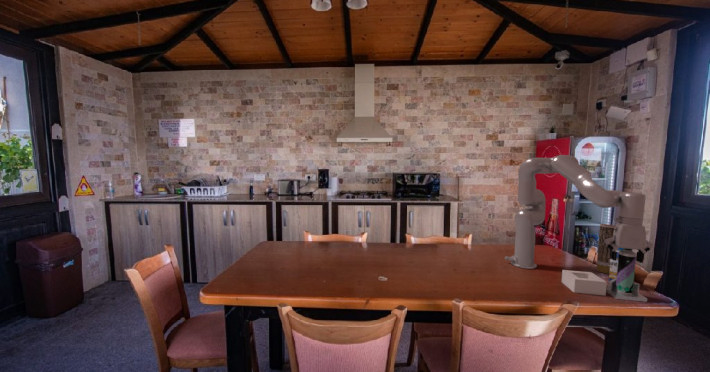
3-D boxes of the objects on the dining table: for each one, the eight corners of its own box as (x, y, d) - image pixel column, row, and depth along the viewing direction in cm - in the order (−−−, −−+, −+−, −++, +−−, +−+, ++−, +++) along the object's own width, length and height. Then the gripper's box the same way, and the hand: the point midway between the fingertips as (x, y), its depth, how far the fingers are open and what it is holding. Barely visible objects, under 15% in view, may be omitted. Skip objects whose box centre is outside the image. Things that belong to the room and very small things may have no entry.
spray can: (612, 289, 131) (616, 245, 130) (623, 289, 132) (627, 244, 130) (624, 295, 126) (628, 248, 124) (636, 294, 126) (640, 248, 125)
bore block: (574, 292, 131) (575, 279, 131) (561, 282, 143) (562, 269, 142) (605, 295, 129) (606, 282, 128) (590, 284, 140) (591, 272, 140)
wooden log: (616, 274, 154) (620, 227, 152) (601, 273, 155) (604, 226, 153) (607, 270, 161) (611, 224, 159) (593, 269, 162) (596, 223, 160)
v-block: (600, 288, 136) (601, 276, 136) (629, 291, 134) (630, 279, 133) (615, 298, 126) (616, 286, 125) (647, 301, 123) (648, 289, 123)
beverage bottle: (633, 289, 135) (637, 246, 134) (609, 285, 140) (613, 243, 138) (629, 283, 142) (632, 242, 141) (606, 279, 147) (609, 239, 145)
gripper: (612, 221, 125) (607, 261, 126) (661, 224, 121) (656, 265, 122) (601, 218, 132) (597, 256, 133) (648, 221, 128) (643, 260, 130)
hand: (626, 260), depth 128 cm, fingers open, 9 cm apart
